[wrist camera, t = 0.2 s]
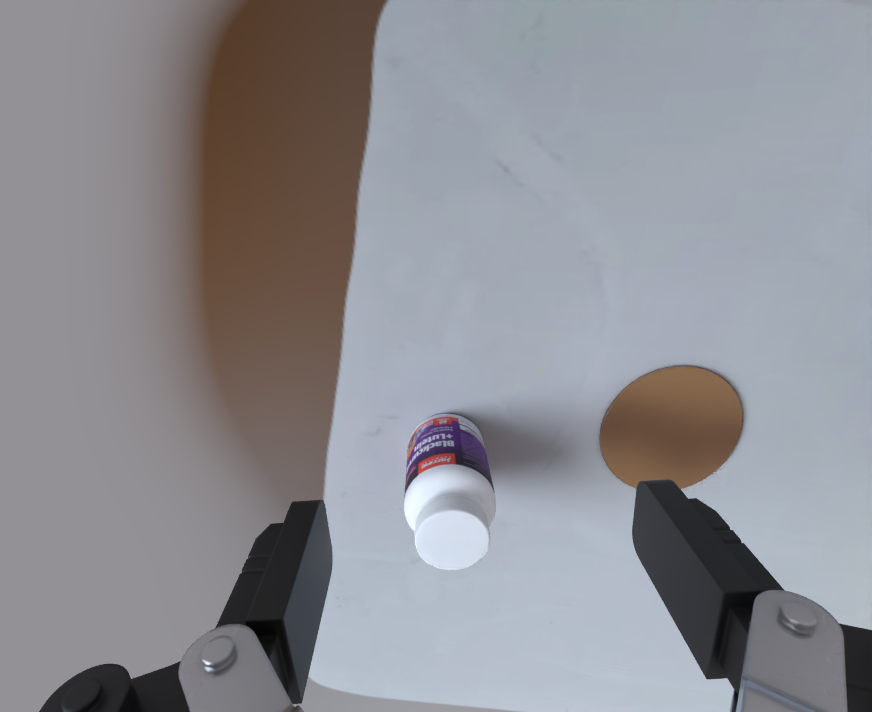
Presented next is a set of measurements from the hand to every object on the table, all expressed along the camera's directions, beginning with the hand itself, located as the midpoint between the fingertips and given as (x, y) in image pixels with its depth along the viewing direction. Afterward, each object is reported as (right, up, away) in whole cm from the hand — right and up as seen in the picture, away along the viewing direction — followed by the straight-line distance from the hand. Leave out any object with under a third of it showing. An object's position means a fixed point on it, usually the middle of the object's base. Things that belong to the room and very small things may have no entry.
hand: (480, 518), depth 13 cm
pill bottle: (0, -2, +23) cm, 23 cm away
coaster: (+15, -1, +22) cm, 27 cm away
